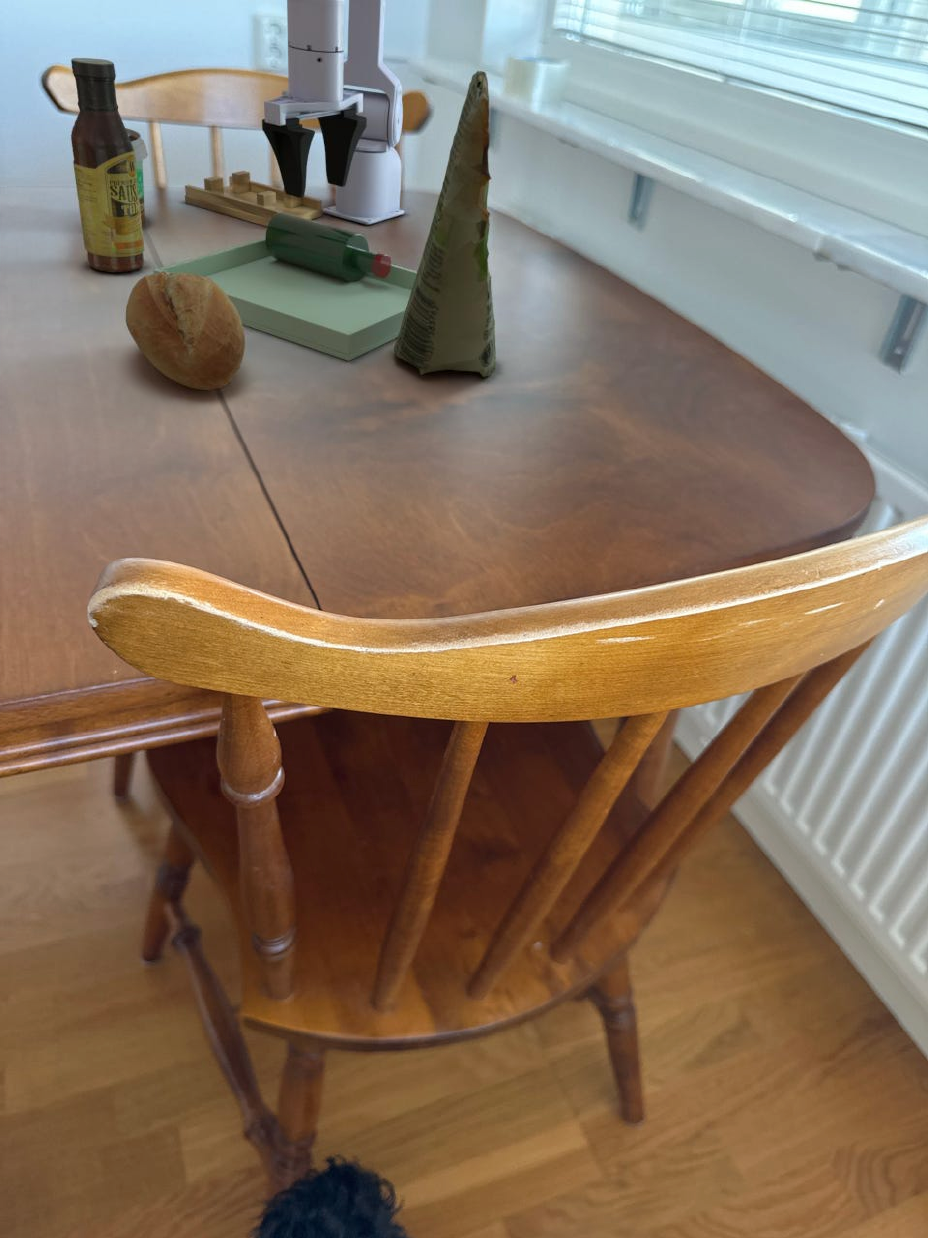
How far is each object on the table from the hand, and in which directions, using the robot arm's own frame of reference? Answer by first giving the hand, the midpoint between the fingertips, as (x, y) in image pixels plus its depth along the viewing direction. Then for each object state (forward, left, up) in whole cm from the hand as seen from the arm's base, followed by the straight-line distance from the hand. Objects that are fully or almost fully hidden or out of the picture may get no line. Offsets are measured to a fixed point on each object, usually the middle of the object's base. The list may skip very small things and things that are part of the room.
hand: (316, 189), depth 100 cm
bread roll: (+30, +9, -9) cm, 33 cm away
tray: (+8, +6, -9) cm, 14 cm away
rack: (-15, -22, -9) cm, 28 cm away
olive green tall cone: (+12, +26, -9) cm, 30 cm away
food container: (+3, -27, -9) cm, 29 cm away
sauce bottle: (+15, -16, -9) cm, 24 cm away
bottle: (+1, +3, -8) cm, 9 cm away
